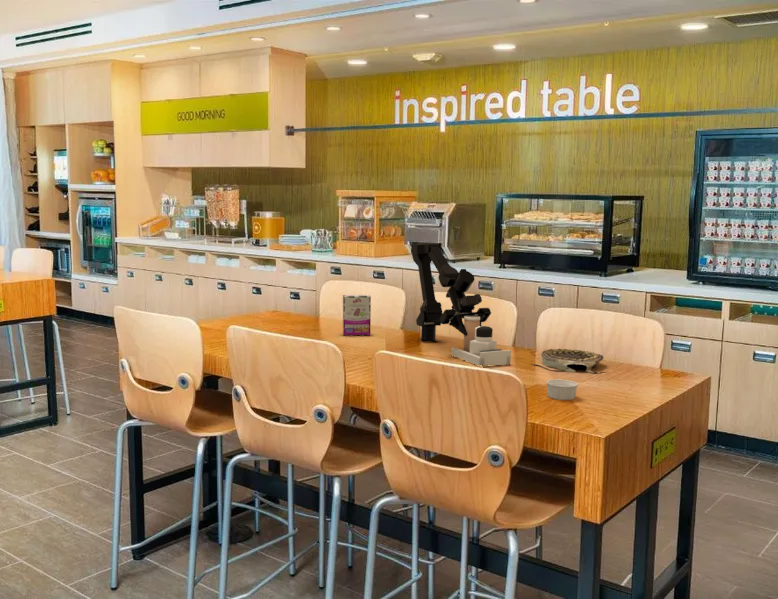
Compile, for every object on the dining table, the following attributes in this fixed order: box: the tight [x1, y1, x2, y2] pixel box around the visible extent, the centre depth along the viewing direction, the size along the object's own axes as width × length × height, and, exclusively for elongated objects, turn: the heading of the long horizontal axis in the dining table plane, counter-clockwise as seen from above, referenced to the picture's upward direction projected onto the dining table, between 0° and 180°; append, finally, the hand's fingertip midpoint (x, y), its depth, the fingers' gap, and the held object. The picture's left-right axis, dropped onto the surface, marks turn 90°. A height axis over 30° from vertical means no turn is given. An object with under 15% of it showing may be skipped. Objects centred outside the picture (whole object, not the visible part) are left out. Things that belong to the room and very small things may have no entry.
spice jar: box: [462, 315, 480, 353], centre depth 282 cm, size 6×6×13 cm
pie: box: [533, 348, 604, 374], centre depth 273 cm, size 28×27×5 cm
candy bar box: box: [342, 294, 372, 337], centre depth 321 cm, size 11×5×16 cm, turn 99°
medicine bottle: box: [470, 325, 498, 356], centre depth 275 cm, size 7×7×12 cm
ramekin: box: [546, 378, 579, 401], centre depth 229 cm, size 9×9×4 cm
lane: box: [450, 347, 512, 368], centre depth 277 cm, size 20×12×5 cm, turn 25°
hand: (473, 334), depth 281 cm, fingers closed on spice jar, 5 cm apart
